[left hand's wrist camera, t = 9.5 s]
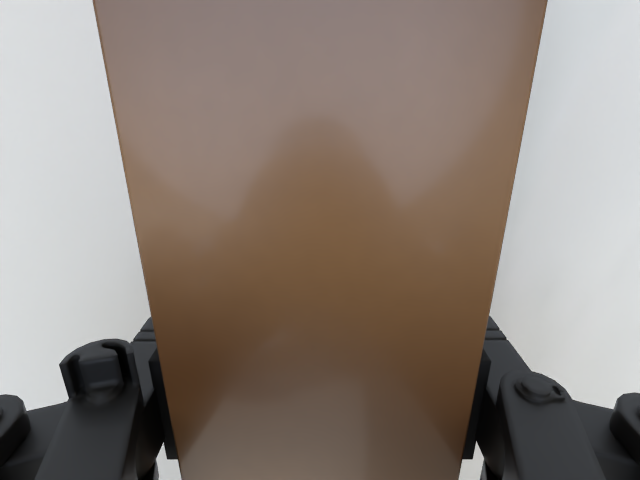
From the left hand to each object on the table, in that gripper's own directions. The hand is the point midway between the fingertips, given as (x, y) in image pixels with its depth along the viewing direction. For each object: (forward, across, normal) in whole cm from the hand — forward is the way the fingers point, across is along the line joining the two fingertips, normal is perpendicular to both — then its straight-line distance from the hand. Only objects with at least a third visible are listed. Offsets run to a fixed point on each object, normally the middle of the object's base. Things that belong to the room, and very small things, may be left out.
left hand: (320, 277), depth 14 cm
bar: (0, 0, -25) cm, 25 cm away
